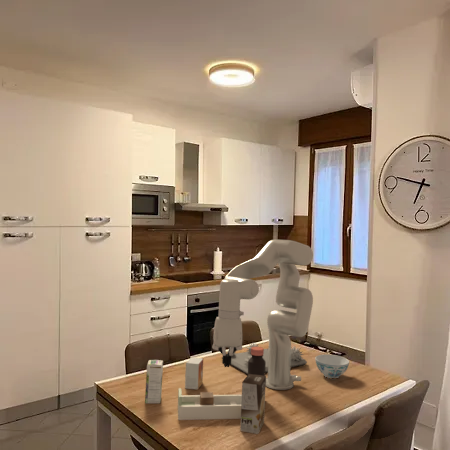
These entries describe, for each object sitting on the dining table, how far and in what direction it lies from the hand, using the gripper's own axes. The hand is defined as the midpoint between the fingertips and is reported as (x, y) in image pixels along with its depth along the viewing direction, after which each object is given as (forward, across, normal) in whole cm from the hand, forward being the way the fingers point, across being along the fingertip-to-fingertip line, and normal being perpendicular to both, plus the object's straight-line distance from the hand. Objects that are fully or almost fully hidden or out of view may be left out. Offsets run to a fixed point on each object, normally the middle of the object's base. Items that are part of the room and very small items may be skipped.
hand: (226, 365), depth 152 cm
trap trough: (+17, +2, -1) cm, 17 cm away
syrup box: (+17, +25, -12) cm, 33 cm away
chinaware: (+16, -54, -35) cm, 66 cm away
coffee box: (+17, -8, +10) cm, 22 cm away
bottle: (+17, -14, -11) cm, 24 cm away
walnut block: (+15, +6, 0) cm, 16 cm away
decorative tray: (+16, -27, -54) cm, 62 cm away
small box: (+17, +9, -26) cm, 33 cm away
